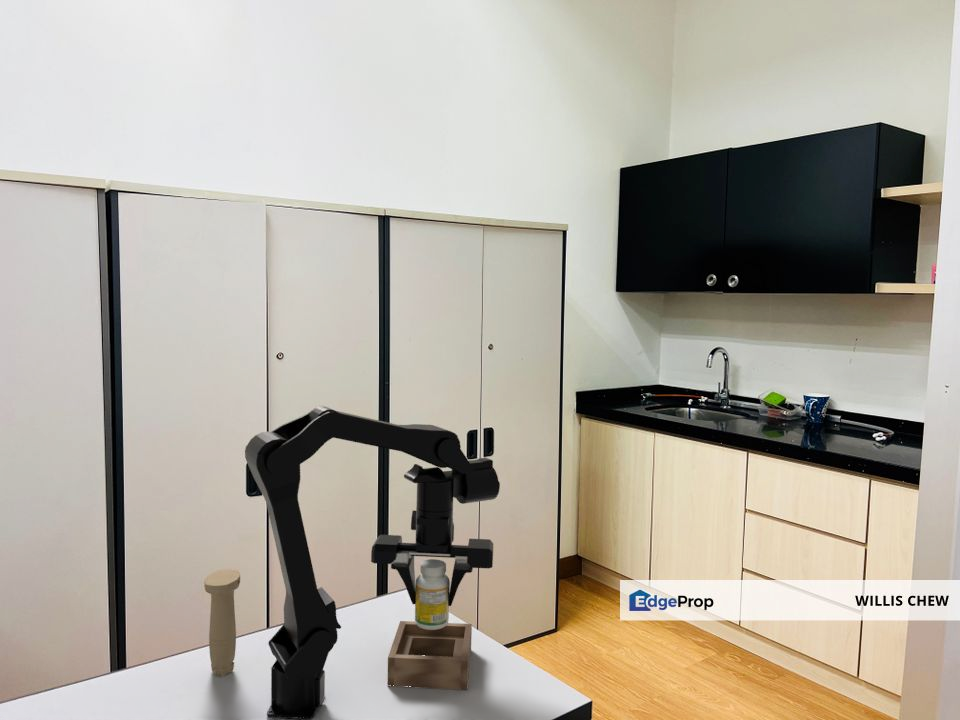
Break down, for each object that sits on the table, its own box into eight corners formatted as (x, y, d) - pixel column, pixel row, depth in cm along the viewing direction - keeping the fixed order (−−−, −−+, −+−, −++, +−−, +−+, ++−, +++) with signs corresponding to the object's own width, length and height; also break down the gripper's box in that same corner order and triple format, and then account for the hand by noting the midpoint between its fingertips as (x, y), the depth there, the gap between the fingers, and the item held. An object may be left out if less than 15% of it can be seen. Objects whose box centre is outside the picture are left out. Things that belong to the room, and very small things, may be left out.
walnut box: (387, 686, 103) (387, 657, 102) (399, 646, 115) (400, 620, 114) (466, 689, 102) (467, 661, 102) (471, 650, 114) (471, 624, 114)
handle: (244, 660, 109) (244, 569, 108) (232, 682, 102) (232, 585, 101) (213, 660, 109) (213, 569, 107) (199, 682, 102) (198, 585, 101)
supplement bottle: (440, 633, 104) (442, 572, 104) (408, 626, 106) (410, 566, 106) (453, 618, 109) (455, 560, 109) (423, 612, 111) (424, 555, 111)
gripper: (495, 495, 114) (492, 586, 115) (384, 491, 115) (382, 581, 116) (494, 515, 103) (490, 615, 104) (371, 510, 104) (369, 609, 105)
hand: (432, 604), depth 108 cm, fingers closed on supplement bottle, 5 cm apart
